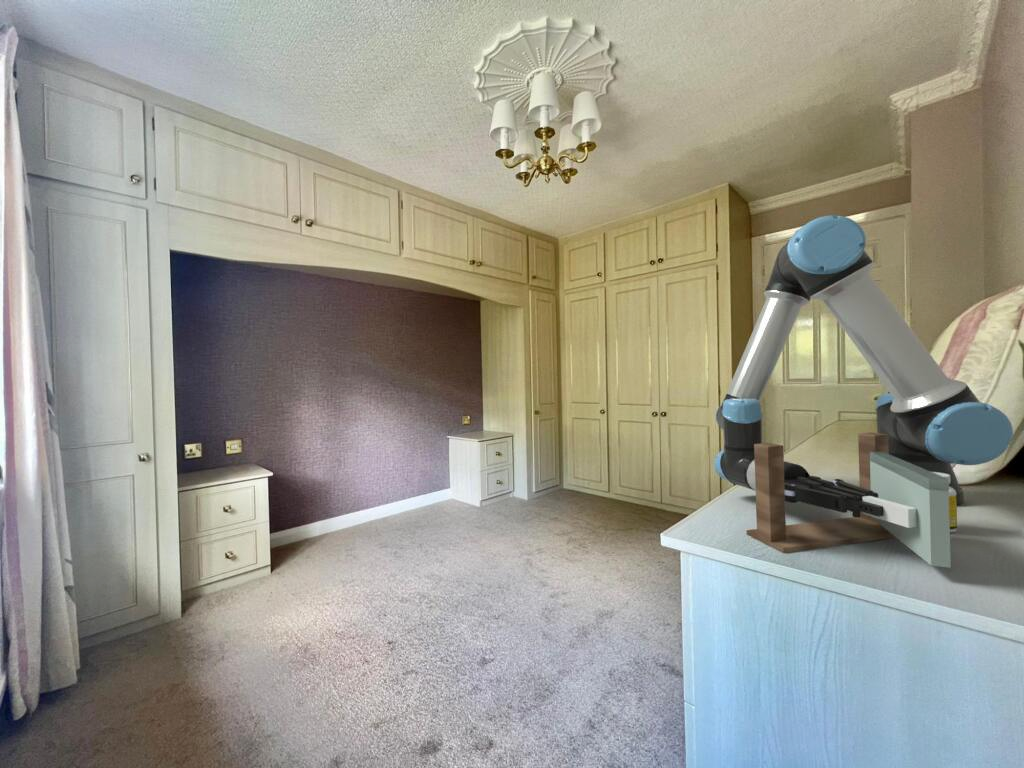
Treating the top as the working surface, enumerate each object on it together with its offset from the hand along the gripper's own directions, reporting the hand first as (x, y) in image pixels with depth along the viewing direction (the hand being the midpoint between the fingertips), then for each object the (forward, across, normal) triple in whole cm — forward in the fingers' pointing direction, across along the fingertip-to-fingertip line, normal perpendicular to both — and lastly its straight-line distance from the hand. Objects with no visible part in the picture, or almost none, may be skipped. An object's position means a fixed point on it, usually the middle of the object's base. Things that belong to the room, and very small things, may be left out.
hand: (912, 518), depth 60 cm
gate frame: (-13, -1, -8) cm, 15 cm away
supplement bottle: (-11, -20, -8) cm, 24 cm away
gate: (-5, -5, -5) cm, 9 cm away
